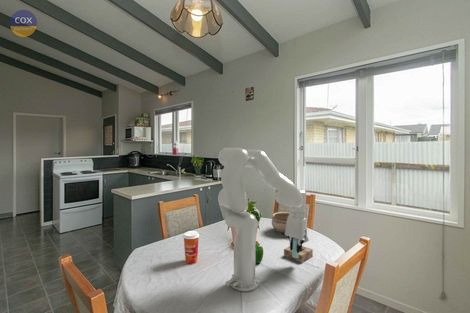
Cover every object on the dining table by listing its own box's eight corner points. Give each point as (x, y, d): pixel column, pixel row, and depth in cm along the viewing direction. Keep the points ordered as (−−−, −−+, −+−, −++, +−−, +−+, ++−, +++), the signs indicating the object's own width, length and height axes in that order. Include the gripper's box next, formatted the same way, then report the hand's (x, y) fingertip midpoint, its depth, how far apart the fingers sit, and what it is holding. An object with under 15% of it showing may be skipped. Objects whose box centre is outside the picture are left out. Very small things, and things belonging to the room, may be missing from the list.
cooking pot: (263, 229, 175) (264, 212, 174) (284, 225, 183) (285, 209, 182) (285, 241, 152) (285, 222, 152) (308, 236, 161) (308, 218, 160)
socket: (301, 263, 124) (301, 255, 124) (283, 256, 132) (284, 249, 132) (312, 256, 131) (312, 249, 131) (295, 250, 139) (295, 243, 139)
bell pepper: (243, 262, 125) (243, 243, 124) (253, 256, 131) (253, 238, 131) (257, 267, 119) (257, 247, 119) (266, 261, 126) (266, 242, 125)
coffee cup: (180, 263, 123) (180, 235, 122) (188, 256, 131) (188, 229, 130) (194, 266, 120) (194, 237, 120) (202, 259, 128) (202, 231, 127)
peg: (296, 258, 119) (297, 238, 118) (290, 256, 121) (291, 236, 121) (299, 257, 121) (300, 237, 121) (294, 254, 123) (295, 235, 123)
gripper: (279, 212, 124) (277, 247, 124) (308, 219, 112) (306, 258, 112) (287, 210, 129) (286, 244, 129) (316, 217, 117) (314, 254, 117)
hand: (295, 250), depth 121 cm, fingers closed on peg, 3 cm apart
